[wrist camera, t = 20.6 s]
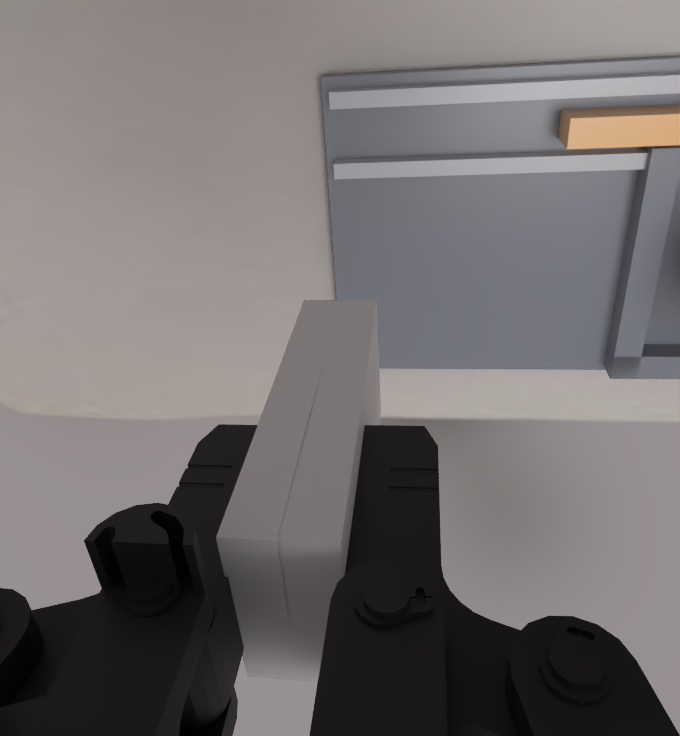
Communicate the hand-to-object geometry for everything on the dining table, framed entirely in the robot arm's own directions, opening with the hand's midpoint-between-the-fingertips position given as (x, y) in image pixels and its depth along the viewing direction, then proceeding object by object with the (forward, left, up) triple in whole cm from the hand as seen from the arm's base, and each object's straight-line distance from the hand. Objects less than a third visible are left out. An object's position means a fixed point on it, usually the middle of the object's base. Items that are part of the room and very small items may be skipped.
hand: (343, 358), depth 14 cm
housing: (-4, +12, -24) cm, 28 cm away
